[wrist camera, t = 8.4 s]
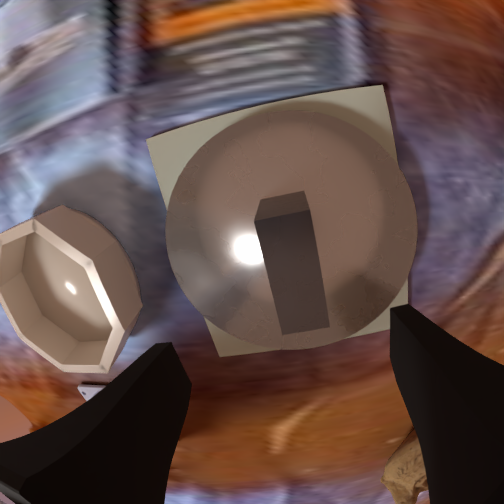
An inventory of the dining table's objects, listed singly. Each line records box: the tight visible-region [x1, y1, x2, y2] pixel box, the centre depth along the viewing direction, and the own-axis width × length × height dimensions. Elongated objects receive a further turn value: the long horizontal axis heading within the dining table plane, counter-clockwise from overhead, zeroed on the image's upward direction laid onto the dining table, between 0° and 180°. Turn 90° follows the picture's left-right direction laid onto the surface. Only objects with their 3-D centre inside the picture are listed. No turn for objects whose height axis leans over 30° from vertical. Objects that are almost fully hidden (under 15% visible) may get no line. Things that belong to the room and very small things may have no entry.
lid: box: [165, 110, 417, 350], centre depth 16 cm, size 15×15×5 cm
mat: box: [146, 85, 408, 357], centre depth 19 cm, size 16×14×1 cm
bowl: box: [0, 205, 143, 373], centre depth 20 cm, size 12×12×4 cm
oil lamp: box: [381, 429, 428, 504], centre depth 22 cm, size 11×15×8 cm
